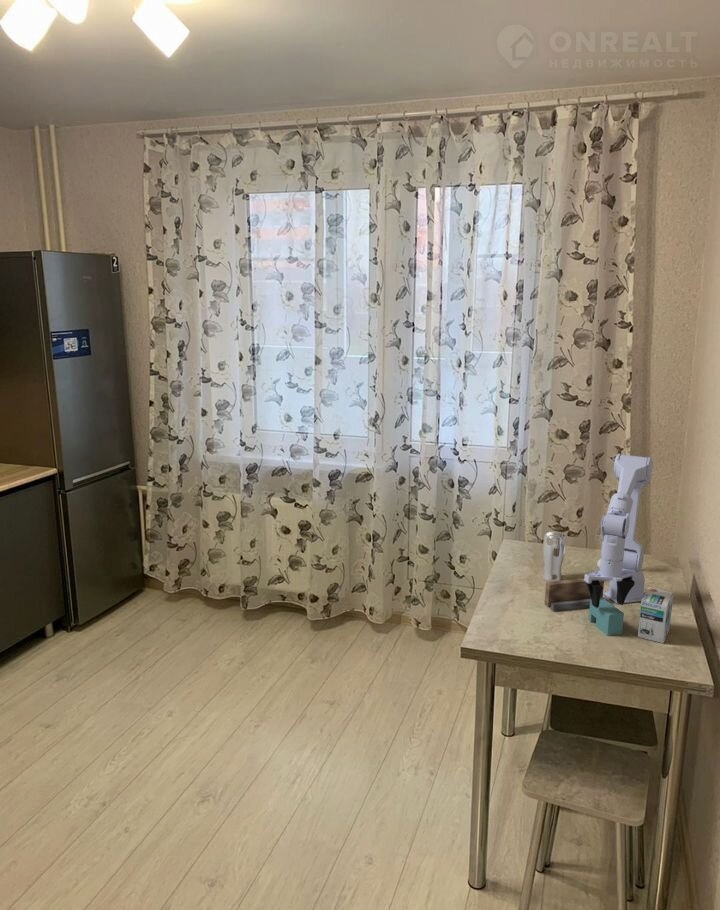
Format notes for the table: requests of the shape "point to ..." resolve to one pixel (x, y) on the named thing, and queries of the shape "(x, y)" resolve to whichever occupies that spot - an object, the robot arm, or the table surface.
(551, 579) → the beer glass
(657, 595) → the light bulb box
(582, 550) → the table surface
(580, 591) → the brown wooden ledge block
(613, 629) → the teal rectangular block
